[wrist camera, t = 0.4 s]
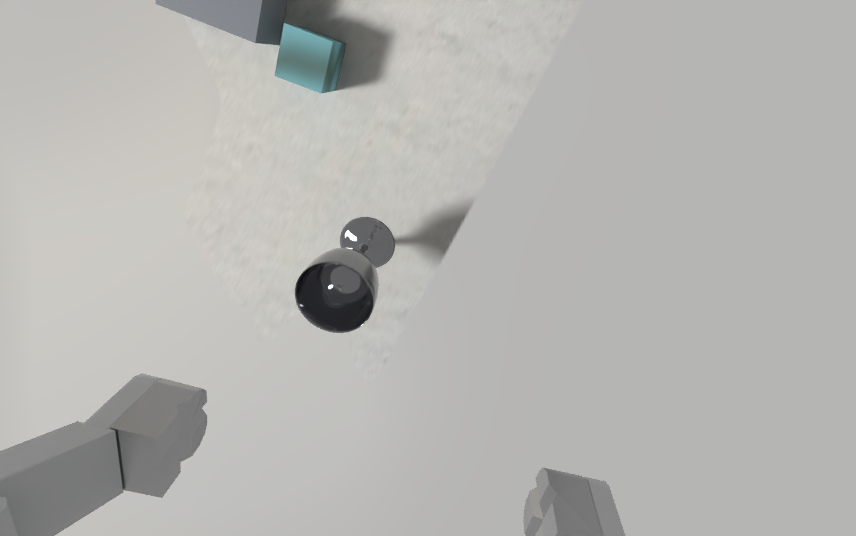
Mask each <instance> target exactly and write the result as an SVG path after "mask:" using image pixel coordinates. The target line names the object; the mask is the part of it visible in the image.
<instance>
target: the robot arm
mask: <svg viewBox="0 0 856 536" xmlns="http://www.w3.org/2000/svg"><path fill="white" fill-rule="evenodd" d="M206 402H207V395H206V390H204V389H201V388H198V387H194V386H190V385H186V384H182V383H178V382H174V381H171V380H166V379H162V378H158V377H154V376H150V375H145V374H140V375H137V376H135V377H134V378H132V379H131V380H130V381H129V382H128V383H127V384H126V385H125V386H124V387H123V388H122V389H121V390H119V392H117V393H116V394H115V395H114V396H113V397H112V398H111V399H110V400H108V401H107V402H106V403H105V404H104V405H103V406H102V407H101V408H100V409H99V410H98V411H97V412H95V413H94V414H93V415H92V416H91V417H90V418H89V419H88V420H87V421H86V422H84V423H83V422H78V421H77V422H75V423H72V424H70V425H67V426H64V427H62V428H60V429H57V430H54V431H52V432H49V433H46V434H44V435H41V436H39V437H36V438H34V439H31V440H28V441H26V442H23V443H21V444H18V445H15V446H13V447H10V448H8V449H5V450H2V451H0V536H54V535H56V534H58V533H59V532H61V531H62V530H64V529H65V528H67V527H69V526H70V525H72V524H73V523H75V522H76V521H78V520H80V519H81V518H83V517H85V516H86V515H88V514H89V513H91V512H92V511H94V510H95V509H97V508H99V507H100V506H102V505H104V504H105V503H107V502H108V501H110V500H112V499H113V498H115V497H116V496H118V495H120V494H121V493H123V490H127V491H132V492H137V493H142V494H146V495H151V496H156V497H161V498H162V497H163V496H164V494H165V493H166V491H167V490H168V489H169V487H170V486H171V484H172V483H173V482H174V480H175V479H176V478H177V476H178V475H179V473H180V472H181V471H180V462H181V461H183V460H185V459H187V458H189V457H191V456H192V455H193V454H194V452H195V451H196V450H197V448H198V447H199V445H200V443H201V441H202V438H203V436H204V434H205V430H206V426H207V415H206V413H205V412H204V411H203V409H202V407H203V406H204V405H205V403H206ZM536 482H537V487H536V488H534V489H532V490H531V491H530V492H529V495H528V497H527V500H526V503H525V509H524V531H525V534H526V536H625V534H624V530H623V527H622V524H621V522H620V518H619V515H618V512H617V509H616V506H615V503H614V500H613V497H612V494H611V490H610V487H609V485H608V484H607V483H606V482H604V481H600V480H596V479H591V478H587V477H582V476H578V475H574V474H569V473H565V472H560V471H555V470H550V469H546V468H542V469H541V470H540V471H539V473H538V475H537V477H536Z"/></svg>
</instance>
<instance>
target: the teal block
mask: <svg viewBox="0 0 856 536" xmlns="http://www.w3.org/2000/svg"><path fill="white" fill-rule="evenodd" d="M345 46H346V44H345V43H343V42H340V41H338V40H335V39H332V38H330V37H327V36H324V35H322V34H319V33H317V32H314V31H311V30H309V29H306V28H304V27H300V26H296V25H291V24H287V23H284V25H283V31H282V37H281V42H280V48H279V54H278V60H277V65H276V71H275V76H277V77H279V78H282V79H285V80H287V81H290V82H293V83H295V84H298V85H301V86H303V87H306V88H309V89H311V90H314V91H317V92H319V93H326V92H331V91H335V88H336V84H337V80H338V76H339V71H340V67H341V63H342V59H343V54H344V50H345Z"/></svg>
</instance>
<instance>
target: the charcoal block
mask: <svg viewBox="0 0 856 536" xmlns="http://www.w3.org/2000/svg"><path fill="white" fill-rule="evenodd" d="M156 4H158V5H160V6H163V7H165V8H168V9H170V10H173V11H176V12H178V13H181V14H183V15H186V16H188V17H191V18H193V19H196V20H198V21H201V22H203V23H206V24H209V25H211V26H214V27H216V28H219V29H221V30H224V31H226V32H229V33H231V34H234V35H237V36H239V37H242V38H244V39H247V40H249V41H252V42H254V43H262V44H273V45H279V41H280V36H281V31H282V25H283V20H284V15H285V9H286V4H287V0H156Z"/></svg>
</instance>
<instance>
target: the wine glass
mask: <svg viewBox="0 0 856 536" xmlns="http://www.w3.org/2000/svg"><path fill="white" fill-rule="evenodd" d="M340 245H341V248H336V249H333V250H330V251H328V252H326V253H324V254H322V255H321V256H319V257H318V258H316V259H315V260H314V261H313V262H312V263H311V264H310V265H309V266H308V267H307V268H306V269H305V270H304V271H303V273H302V274H301V276H300V277H299V279H298V281H297V283H296V287H295V298H296V303H297V305H298V308H299V309H300V311H301V313H302V314H303V315H304V317H305V318H306V319H307V320H308V321H309V322H310V323H312V324H313V325H315V326H316V327H319V328H320V329H323V330H326V331H329V332H334V333H344V332H350V331H353V330H355V329H357V328H359V327H361V326H362V325H363V324H364V323H365V322H366V321H367V320H368V319H369V317H370V315H371V313H372V311H373V309H374V306H375V303H376V299H377V296H378V287H379V282H378V274H377V270H376V268H377V267H380V266H382V265H384V264H385V263H386V262H388V260H389V259H390V258H391V256H392V254H393V251H394V239H393V236H392V234H391V232H390V230H389V229H388V228H387V227H386V226H385V225H384V224H383V223H382V222H380V221H378V220H376V219H373V218H369V217H361V218H356V219H354V220H352V221H350V222H349V223H348V224H346V226H345V227H344V228H343V230H342V232H341V236H340Z"/></svg>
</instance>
